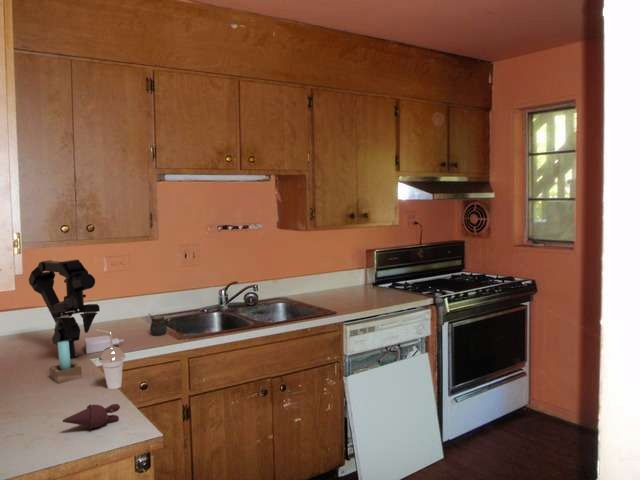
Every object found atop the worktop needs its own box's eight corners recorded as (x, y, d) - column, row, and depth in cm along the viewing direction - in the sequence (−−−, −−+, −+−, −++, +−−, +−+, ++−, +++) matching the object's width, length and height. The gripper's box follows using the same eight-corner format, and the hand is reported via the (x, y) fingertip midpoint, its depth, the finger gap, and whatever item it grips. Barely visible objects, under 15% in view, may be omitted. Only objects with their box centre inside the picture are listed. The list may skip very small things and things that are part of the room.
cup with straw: (110, 393, 182) (105, 333, 179) (94, 387, 187) (90, 329, 185) (132, 385, 189) (128, 327, 186) (117, 379, 194) (113, 324, 192)
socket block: (50, 378, 198) (49, 367, 197) (73, 372, 203) (72, 361, 203) (58, 383, 192) (57, 372, 191) (81, 377, 197) (80, 366, 197)
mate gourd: (167, 335, 247) (165, 313, 246) (149, 337, 245) (148, 315, 243) (167, 331, 254) (165, 310, 252) (150, 333, 252) (148, 311, 250)
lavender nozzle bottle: (125, 348, 230) (86, 354, 224) (122, 343, 239) (84, 348, 232) (125, 337, 230) (85, 343, 223) (121, 332, 238) (83, 337, 231)
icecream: (64, 418, 149) (122, 409, 156) (61, 402, 155) (118, 395, 162) (63, 439, 151) (121, 430, 158) (60, 423, 157) (116, 415, 164)
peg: (59, 377, 198) (56, 342, 196) (69, 375, 200) (66, 340, 199) (62, 380, 195) (59, 344, 193) (73, 377, 197) (70, 342, 196)
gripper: (39, 296, 207) (41, 338, 205) (74, 289, 200) (77, 332, 197) (64, 296, 217) (66, 336, 215) (99, 289, 210) (102, 330, 207)
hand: (77, 334), depth 208 cm, fingers open, 9 cm apart
